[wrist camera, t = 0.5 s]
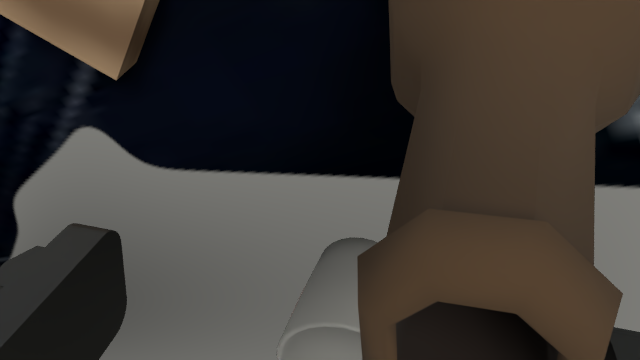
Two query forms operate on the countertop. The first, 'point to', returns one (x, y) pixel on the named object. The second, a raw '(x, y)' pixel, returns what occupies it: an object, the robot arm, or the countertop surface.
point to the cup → (328, 308)
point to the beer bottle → (499, 180)
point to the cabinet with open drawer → (88, 28)
